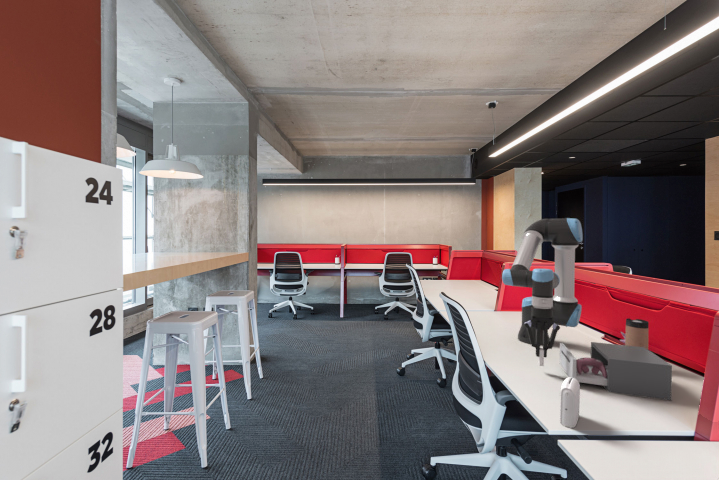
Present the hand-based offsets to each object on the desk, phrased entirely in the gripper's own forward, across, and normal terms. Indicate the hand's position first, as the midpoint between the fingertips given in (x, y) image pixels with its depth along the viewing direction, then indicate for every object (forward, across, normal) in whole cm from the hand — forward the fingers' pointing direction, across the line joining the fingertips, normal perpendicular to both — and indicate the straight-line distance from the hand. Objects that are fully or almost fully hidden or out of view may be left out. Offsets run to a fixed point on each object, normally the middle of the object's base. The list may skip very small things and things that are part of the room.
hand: (541, 364), depth 136 cm
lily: (+4, +45, +40) cm, 61 cm away
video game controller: (+1, +17, 0) cm, 17 cm away
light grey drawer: (+2, +18, 0) cm, 18 cm away
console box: (+3, +29, 0) cm, 29 cm away
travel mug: (+4, +40, +22) cm, 46 cm away
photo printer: (+4, +2, -36) cm, 36 cm away
